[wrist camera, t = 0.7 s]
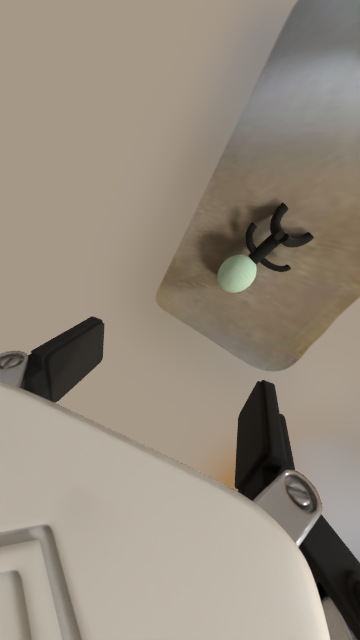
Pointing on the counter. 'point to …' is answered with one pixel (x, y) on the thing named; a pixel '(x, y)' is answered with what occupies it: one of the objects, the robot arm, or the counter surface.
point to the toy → (257, 255)
